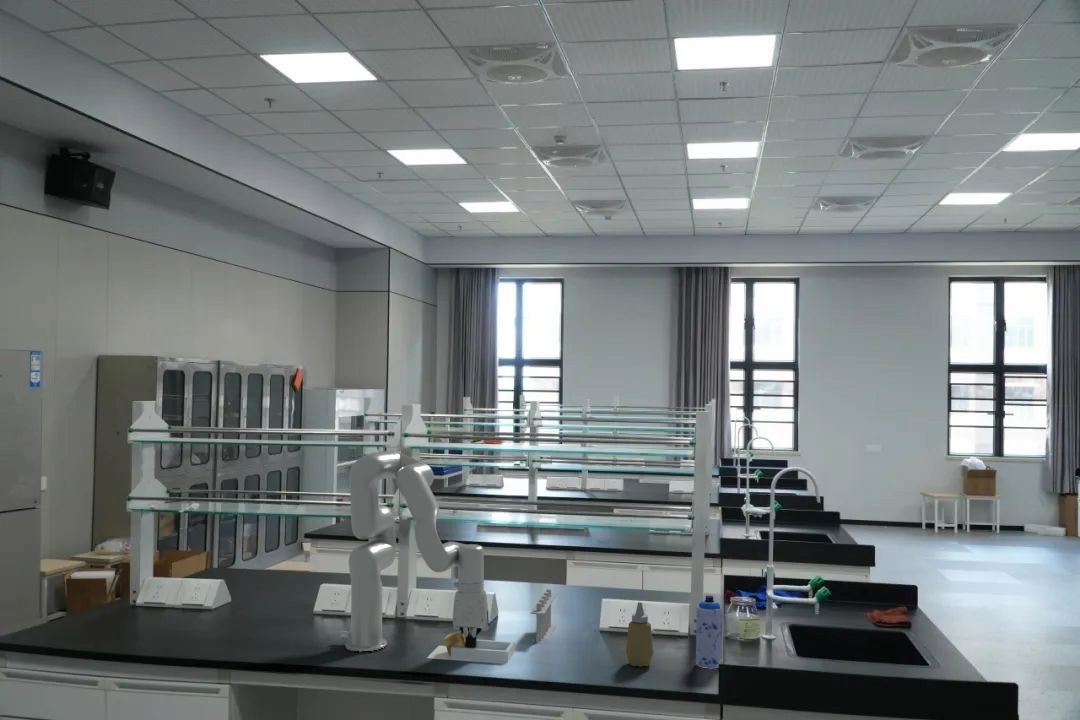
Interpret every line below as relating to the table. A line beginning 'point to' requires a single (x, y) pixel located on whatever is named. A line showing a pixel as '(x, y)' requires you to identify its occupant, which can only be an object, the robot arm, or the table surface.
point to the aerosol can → (708, 633)
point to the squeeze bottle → (639, 639)
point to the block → (454, 641)
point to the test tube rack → (544, 616)
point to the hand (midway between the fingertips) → (471, 649)
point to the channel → (478, 652)
